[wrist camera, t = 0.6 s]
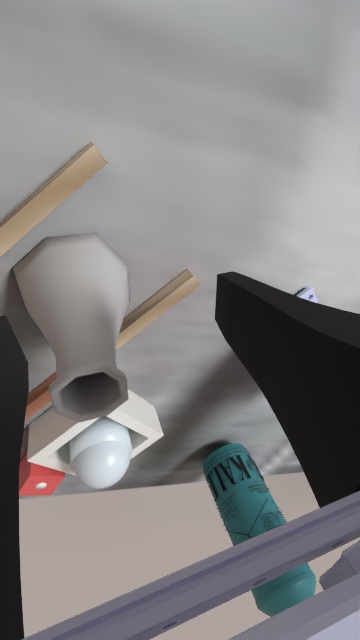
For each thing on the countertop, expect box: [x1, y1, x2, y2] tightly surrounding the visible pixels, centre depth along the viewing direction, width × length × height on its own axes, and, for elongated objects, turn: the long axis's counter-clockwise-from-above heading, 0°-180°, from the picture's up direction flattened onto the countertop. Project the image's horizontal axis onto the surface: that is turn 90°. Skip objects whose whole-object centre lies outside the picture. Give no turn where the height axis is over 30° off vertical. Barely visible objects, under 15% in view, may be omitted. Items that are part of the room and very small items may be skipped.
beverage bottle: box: [203, 443, 316, 617], centre depth 32 cm, size 6×7×20 cm
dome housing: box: [27, 389, 164, 476], centre depth 27 cm, size 8×8×4 cm
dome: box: [69, 416, 132, 489], centre depth 25 cm, size 5×5×5 cm
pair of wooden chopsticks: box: [0, 142, 199, 420], centre depth 20 cm, size 11×23×1 cm, turn 124°
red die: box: [19, 451, 65, 495], centre depth 28 cm, size 3×3×3 cm
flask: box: [13, 233, 130, 423], centre depth 16 cm, size 7×7×10 cm
